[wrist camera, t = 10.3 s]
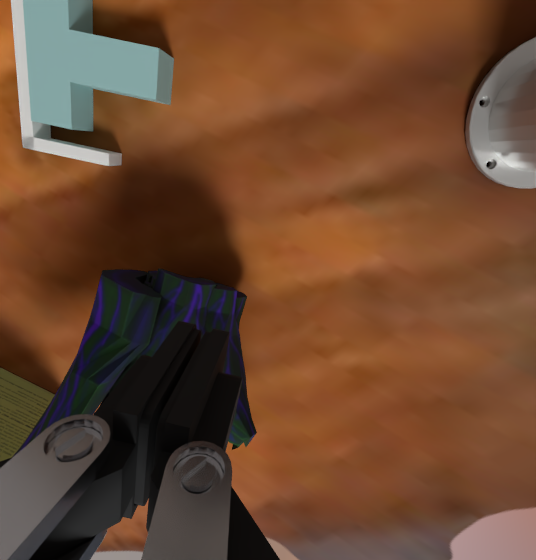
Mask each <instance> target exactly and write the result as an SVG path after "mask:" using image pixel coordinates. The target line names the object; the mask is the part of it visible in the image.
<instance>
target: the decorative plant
mask: <svg viewBox="0 0 536 560" xmlns="http://www.w3.org/2000/svg"><path fill="white" fill-rule="evenodd" d="M246 298H247V296H246V295H245V294H244V293H241V292H239V291H237V290H235V289H234V288H233V287H229V286H225V285H223V284H219V283H215V282H214V281H212V280H208V279H204V278H190V277H184V276H181V275H179V274H176V273H173V272H170V271H167V270H164V269H158V271H148V273H147V272H145V271H138V270H120V269H116V270H103V271H102V274H101V278H100V282H99V286H98V290H97V294H96V297H95V301H94V305H93V309H92V313H91V316H90V319H89V322H88V324H87V327H86V330H85V333H84V336H83V339H82V342H81V345H80V348H79V351H78V354H77V356H76V358H75V359H74V361H73V363H72V365H71V367H70V369H69V371H68V372H67V374H66V376H65V378H64V380H63V382H62V384H61V385H60V387H59V389H58V391H57V392H56V394H55V396H54V397H53V399H52V401H51V402H50V404H49V405H48V407H47V408H46V410H45V411H44V413H43V415H42V416H41V418H40V419H39V421H38V422H37V424H36V425H35V427H34V428H33V430H32V431H31V433H30V434H29V436H28V437H27V439H26V440H25V442H24V443H23V444H22V445H21V447H20V448H19V449H18V450H17V452H16V453H15V454H14V455H13V457H14V456H15V455H16V454H17V453H19V452H20V451H21V450H22V449H23V448H24V447H26V446H27V445H28V444H29V443H30V442H31V441H33V440H34V439H35V438H36V437H37V436H38V435H39V434H41V433H42V432H43V431H44V430H45V429H46V428H48V427H49V426H51V425H52V424H54V423H55V422H57V421H59V420H61V419H63V418H66V417H69V416H73V415H78V414H90V415H93V414H94V412H95V411H96V409H97V408H98V406H99V405H100V404H102V403H103V402H104V401H105V399H106V398H107V397H108V396H109V394H110V393H111V392H112V391H113V389H114V388H115V387H116V386H117V384H118V383H119V382H120V381H121V379H122V378H123V377H124V376H125V374H126V373H127V372H128V371H129V369H130V368H131V367H132V366H133V364H134V363H135V362H136V361H137V359H138V358H139V357H140V356H142V355H146V356H151V357H152V356H153V355H154V354H155V352H156V351H157V350H158V348H159V347H160V346H161V344H162V343H163V341H164V340H165V339H166V337H167V336H168V335H169V333H170V332H171V331H172V329H173V328H174V326H175V325H176V324H177V322H178V321H183V322H187V323H192V324H196V329H198V330H201V339H202V337H203V335H204V333H205V332H206V331H207V332H211V331H212V330H213V329H218V330H223V331H227V332H230V336H229V342H228V348H227V353H226V359H225V365H224V370H223V373H225V374H230V375H234V376H238V377H243V379H242V384H241V389H240V394H239V399H238V403H237V408H236V412H235V416H234V420H233V424H232V428H231V432H230V436H229V440H228V441H229V442H230V443H232V444H233V447H232V450H233V449H236V448H238V447H239V446H240V445H241V444H242V443H243V442H244V444H245V446H247V445H248V444H249V442H250V441H251V440H252V438H253V437H254V436H255V434H256V433H257V432H256V429H255V426H254V424H253V421H252V418H251V413H250V408H249V403H248V398H247V389H246V377H245V369H244V363H243V356H242V350H241V342H240V334H239V322H240V318H241V315H242V312H243V308H244V305H245V302H246ZM200 341H201V340H200ZM101 402H102V403H101ZM100 406H101V405H100Z"/></svg>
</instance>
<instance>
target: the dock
mask: <svg viewBox="0 0 536 560" xmlns="http://www.w3.org/2000/svg"><path fill="white" fill-rule="evenodd" d="M11 7H12V19H13V32H14V44H15V57H16V69H17V82H18V94H19V107H20V119H21V131H22V144H23V148H27V149H32V150H36V151H41V152H46V153H50V154H55V155H59V156H64V157H69V158H73V159H78V160H83V161H87V162H92V163H96V164H101V165H106V166H118V165H121V163H122V153H117V152H113V151H108V150H103V149H99V148H94V147H89V146H85V145H80V144H75V143H71V142H66V141H62V140H57V139H52V138H51V126H50V125H48V124H43V123H39V122H34V121H31V111H30V97H29V82H28V68H27V54H26V39H25V25H24V10H23V0H11Z"/></svg>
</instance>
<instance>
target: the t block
mask: <svg viewBox="0 0 536 560" xmlns="http://www.w3.org/2000/svg"><path fill="white" fill-rule="evenodd" d="M23 10H24V25H25V39H26V54H27V68H28V82H29V97H30V111H31V121H34V122H39V123H43V124H48V125H53V126H57V127H62V128H67V129H71V130H82V131H93V89H97V90H102V91H106V92H111V93H116V94H121V95H125V96H130V97H135V98H139V99H144V100H149V101H154V102H158V103H163V104H168V105H170V104H171V91H172V77H173V64H174V58H172V57H171V56H169V55H168V54H167V53H165V52H164V51H162V50H161V49H160V48H156V47H151V46H147V45H142V44H137V43H132V42H127V41H123V40H118V39H113V38H108V37H103V36H99V35H94V34H93V0H23Z"/></svg>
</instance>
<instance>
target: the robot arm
mask: <svg viewBox="0 0 536 560" xmlns="http://www.w3.org/2000/svg"><path fill="white" fill-rule="evenodd" d="M480 100H481V101H482V105H481V106H480V104H479V103H480ZM465 136H466V144H467V148H468V151H469V154H470V157H471V159H472V161H473V162H474V164H475V165H476V167H477V169H478V170H480V171H481V172H482V173H483V174H484V175H485V176H486V177H487V178H489V179H491V180H492V181H494V182H496V183H499V184H502V185H505V186H509V187H515V188H536V37H535V38H533V39H531V40H529V41H527V42H524V43H523V44H521V45H520V46H518V47H516V48H515V49H513V50H512V51H510V52H509V53H507V54H506V55H505V56H504V57H503V58H502V59H501V60H499V61H498V62H497V63H496V64H495V65H494V66H493V68H492V69H491V70H490V71H489V72H488V73H487V75H486V76H485V77H484V79H483V80H482V82H481V83H480V85H479V87H478V88H477V90H476V92H475V94H474V96H473V99H472V101H471V103H470V106H469V110H468V114H467V118H466V130H465ZM487 162H489V165H488V166H487V167H486V165H487ZM229 336H230V332H227V331H223V330H218V329H213V330H212V331H211V332H207V331H206V332H205V333H204V335H203V337H202V339H201V330H198V329H196V324H192V323H187V322H183V321H178V322H177V324H176V325H175V326H174V328H173V329H172V331H171V332H170V333H169V335H168V336H167V337H166V339H165V340H164V341H163V343H162V344H161V346H160V347H159V348H158V350H157V351H156V352H155V354H154V355H153V356H152V357H151V356H146V355H142V356H140V357H139V358H138V359H137V361H136V362H135V363H134V364H133V366H132V367H131V368H130V369H129V371H128V372H127V373H126V374H125V376H124V377H123V378H122V379H121V381H120V382H119V383H118V384H117V386H116V387H115V388H114V389H113V391H112V392H111V393H110V394H109V396H108V397H107V398H106V399H105V401H104V402H103V403H102V404H101V406H100V407H99V408H98V410H97V411H96V412H95V413H94V415H90V414H78V415H73V416H69V417H66V418H63V419H61V420H59V421H57V422H55V423H54V424H52V425H51V426H49V427H48V428H46V429H45V430H44V431H43V432H42V433H41V434H39V435H38V436H37V437H36V438H35V439H34V440H33V441H31V442H30V443H29V444H28V445H27V446H26V447H24V448H23V449H22V450H21V451H20V452H19V453H17V454H16V455H15V456H14V457H11V458H9V459H6V460H3V461H0V560H90V559H91V557H92V556H93V554H94V553H95V551H96V550H97V548H98V547H99V545H100V544H101V542H102V541H103V539H104V537H105V535H106V533H107V529H108V528H109V527H111V526H113V525H115V524H117V523H118V522H120V521H121V519H122V517H126V518H130V519H132V516H133V514H134V512H135V510H136V508H137V506H138V505H141V506H144V505H145V504H146V502H147V500H148V498H149V503H148V514H147V526H146V528H147V531H148V536H147V540H146V544H145V547H144V551H143V556H142V559H141V560H280V559H279V558H278V556H277V555H276V553H275V552H274V550H273V549H272V547H271V545H270V544H269V543H268V541H267V539H266V538H265V536H264V535H263V533H262V532H261V530H260V529H259V527H258V526H257V524H256V523H255V521H254V520H253V518H252V517H251V515H250V514H249V512H248V511H247V509H246V508H245V506H244V505H243V503H242V502H241V500H240V499H239V497H238V495H237V494H236V492H235V491H234V489H233V488H232V486H231V481H232V467H231V461H230V459H229V457H228V455H227V454H226V452H225V451H226V447H227V443H228V440H229V436H230V432H231V428H232V424H233V420H234V416H235V412H236V408H237V403H238V399H239V394H240V389H241V384H242V379H243V377H238V376H234V375H230V374H225V373H223V370H224V365H225V359H226V353H227V348H228V342H229ZM200 340H201V341H200Z"/></svg>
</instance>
